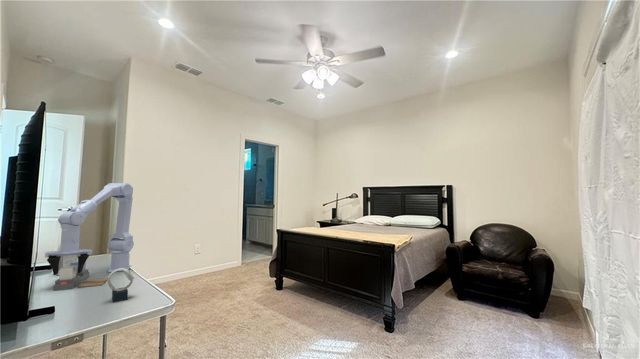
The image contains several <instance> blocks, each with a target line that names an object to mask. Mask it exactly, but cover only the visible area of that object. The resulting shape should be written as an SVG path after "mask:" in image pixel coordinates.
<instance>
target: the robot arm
mask: <svg viewBox="0 0 640 359" xmlns="http://www.w3.org/2000/svg"><path fill="white" fill-rule="evenodd" d="M133 192H134V187H133V186H132V184H130V183H128V182H124V183H121V182H120V183H119V182H109V183H107V184H106V185H104V186H103V189H102V190H101V191H99V192H98V193H96V194H95V195H94V196H93V197H92V198H90V199H85V200H84V199H83V200H81V201H80V203H79V204H77V205H76V206H75V207H72V208H71V209H70V210H69V211H64V212H62V213H61V215H60V216H59V217H58V218H57V222H58V223H59V224H60V229H61V232H60V234H61V235H60V244H61V246H60V245H59V246H60V251H58V250H53V251H46V252H45V253H44V258H46V261H47V262H48V264H49V265H50V268H51V270H52V273H53V274H52V275H53V276H57V275H56V274H58V271H59V261H60V257H61V256H71V255H77V260H78V273H81V272H82V269H83V266H84V264H85V262H86V263H87V260H88V258H90V255H92V254H93V249H92V248H91V249H89V248H88V249H87V248H86V249H85V248H84V249H80V236H81V225H82V224H84V222H85V220H86V218H87V217H88V216H89V215H90V214H92V213H93V212H95V211H96V210H97V208H98V205H99V204H101V203H102V202H105V201H106V200H107V199H109V198H110V197H112V198H113V199H115V200H117V201H118V208H117V217H116V223H115V232H114V233H113V234H112V235H111V236H110V238H109V240H108V243H107V249H108V251H109V252H110V253H111V255H110V268H109V269H108V270H107V273H111V272H112V271H114V270H116V269H119V268H125V269H126V268H127V269H128V270H129V269H130V268H131V267H132V265H130V257H131V256H130V252H131V250H132V249H133V248H134V236H133V235H132V234H131V233H129V232H130V225H131V224H130V223H131V214H132V208H133V207H132V206H133ZM118 272H123V270H120V271H117V272H116V273H118Z"/></svg>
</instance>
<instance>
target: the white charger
mask: <svg viewBox="0 0 640 359" xmlns="http://www.w3.org/2000/svg"><path fill="white" fill-rule="evenodd" d="M76 270H77V265H75V266H64V267H62V268H61V269H60V276H59V278H58V279H59V280H68V279H73V278H75V277H76Z"/></svg>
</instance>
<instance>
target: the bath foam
mask: <svg viewBox="0 0 640 359" xmlns="http://www.w3.org/2000/svg"><path fill="white" fill-rule="evenodd" d="M60 246H61V243H59V246H58V248H57V251H60ZM77 260H78V255H71V256H61V257H60V261H59V271H58V274H56V275H55V276H60V269H61V268H62V267H64V266H71V262H73V261H77Z"/></svg>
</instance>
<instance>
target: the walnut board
mask: <svg viewBox="0 0 640 359" xmlns="http://www.w3.org/2000/svg"><path fill="white" fill-rule="evenodd" d="M107 281H108V277H104V278H102V277H101V278H92V279H85V280H83V281H82V282H81V283H79V284H78V285H77V288H78V289H80V288H81V289H83V288H91V287H101V286H102V287H103V285H104V284H105V283H106V282H107Z"/></svg>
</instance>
